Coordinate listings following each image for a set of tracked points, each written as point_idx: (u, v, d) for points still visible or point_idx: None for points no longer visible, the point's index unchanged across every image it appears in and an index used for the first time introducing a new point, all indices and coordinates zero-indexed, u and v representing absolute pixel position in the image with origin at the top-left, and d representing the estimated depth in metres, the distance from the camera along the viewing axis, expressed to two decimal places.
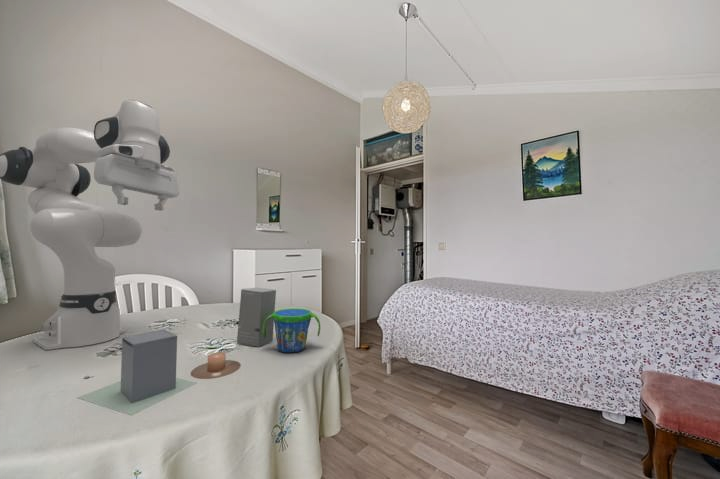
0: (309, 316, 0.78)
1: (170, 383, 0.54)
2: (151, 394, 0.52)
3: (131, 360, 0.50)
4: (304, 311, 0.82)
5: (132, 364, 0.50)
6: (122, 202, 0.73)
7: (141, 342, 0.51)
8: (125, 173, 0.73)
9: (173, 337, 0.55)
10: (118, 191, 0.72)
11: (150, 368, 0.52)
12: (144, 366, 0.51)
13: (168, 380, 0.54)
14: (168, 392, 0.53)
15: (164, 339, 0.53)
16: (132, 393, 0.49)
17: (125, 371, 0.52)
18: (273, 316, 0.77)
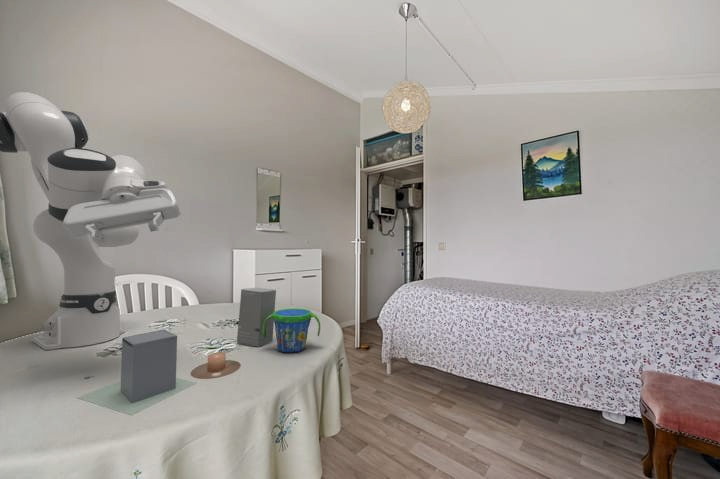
0: (309, 316, 0.78)
1: (170, 383, 0.54)
2: (151, 394, 0.52)
3: (131, 360, 0.50)
4: (304, 311, 0.82)
5: (132, 364, 0.50)
6: (157, 229, 0.62)
7: (141, 342, 0.51)
8: None
9: (173, 337, 0.55)
10: (162, 222, 0.64)
11: (150, 368, 0.52)
12: (144, 366, 0.51)
13: (168, 380, 0.54)
14: (168, 392, 0.53)
15: (164, 339, 0.53)
16: (132, 393, 0.49)
17: (125, 371, 0.52)
18: (273, 316, 0.77)
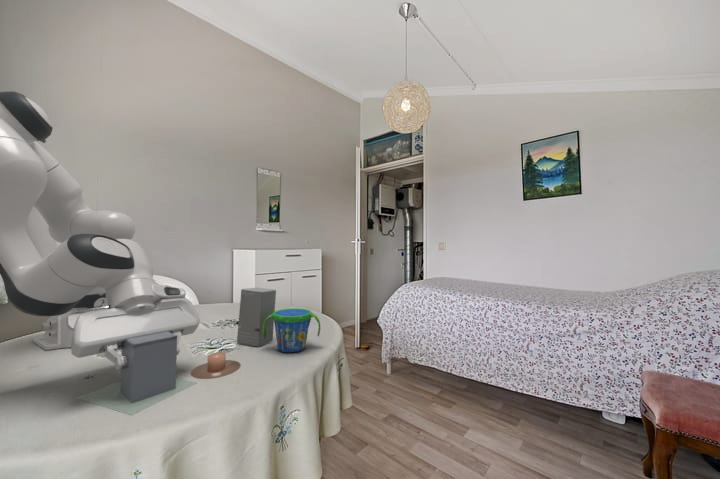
0: (309, 316, 0.78)
1: (170, 383, 0.54)
2: (151, 394, 0.52)
3: (131, 360, 0.50)
4: (304, 311, 0.82)
5: (132, 364, 0.50)
6: None
7: (141, 342, 0.51)
8: None
9: (173, 337, 0.55)
10: None
11: (150, 368, 0.52)
12: (144, 366, 0.51)
13: (168, 380, 0.54)
14: (168, 392, 0.53)
15: (164, 339, 0.53)
16: (132, 393, 0.49)
17: (125, 371, 0.52)
18: (273, 316, 0.77)
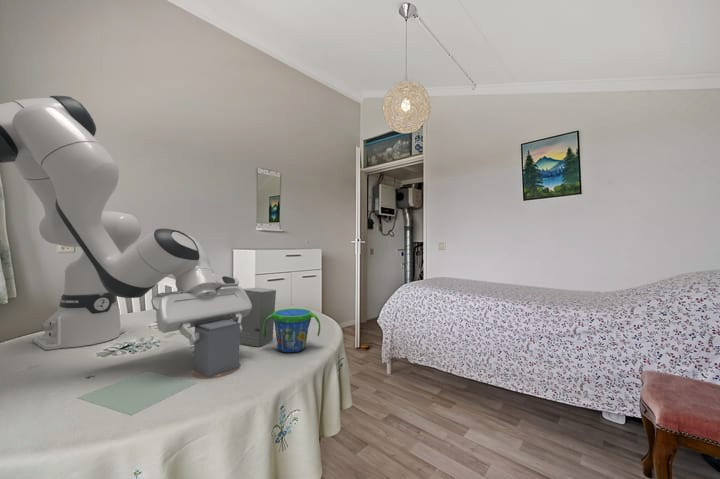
0: (309, 316, 0.78)
1: (235, 363, 0.64)
2: (221, 371, 0.61)
3: (206, 342, 0.60)
4: (304, 311, 0.82)
5: (208, 345, 0.60)
6: None
7: (214, 327, 0.61)
8: None
9: (237, 324, 0.64)
10: None
11: (221, 349, 0.61)
12: (217, 348, 0.61)
13: (233, 360, 0.64)
14: (168, 392, 0.53)
15: (230, 325, 0.63)
16: (208, 369, 0.59)
17: (199, 352, 0.62)
18: (273, 316, 0.77)
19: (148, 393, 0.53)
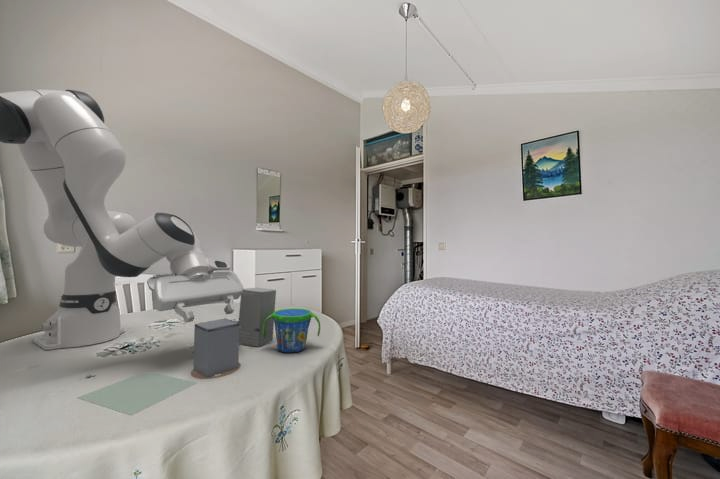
0: (309, 316, 0.78)
1: (234, 363, 0.64)
2: (220, 371, 0.61)
3: (205, 342, 0.60)
4: (304, 311, 0.82)
5: (207, 345, 0.60)
6: None
7: (213, 327, 0.61)
8: None
9: (236, 324, 0.64)
10: None
11: (220, 349, 0.61)
12: (215, 348, 0.61)
13: (233, 360, 0.63)
14: (168, 392, 0.53)
15: (230, 325, 0.63)
16: (207, 369, 0.59)
17: (199, 352, 0.62)
18: (273, 316, 0.77)
19: (148, 393, 0.53)
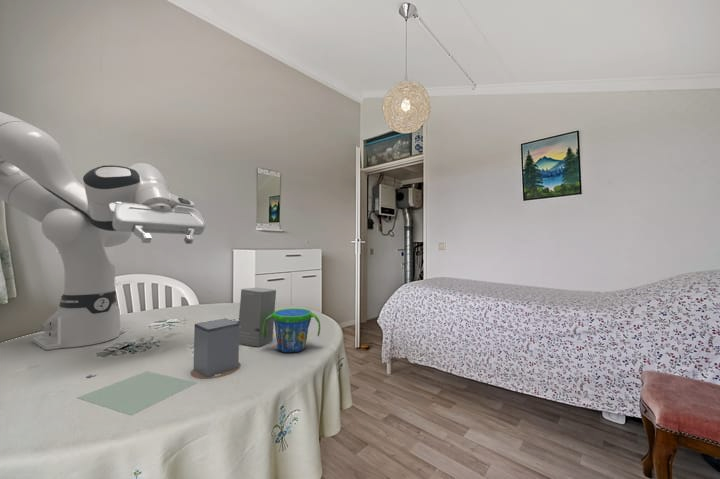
0: (309, 316, 0.78)
1: (234, 363, 0.64)
2: (220, 371, 0.61)
3: (205, 342, 0.60)
4: (304, 311, 0.82)
5: (207, 345, 0.60)
6: None
7: (213, 327, 0.61)
8: None
9: (236, 324, 0.64)
10: None
11: (220, 349, 0.61)
12: (215, 348, 0.61)
13: (233, 360, 0.63)
14: (168, 392, 0.53)
15: (230, 325, 0.63)
16: (207, 369, 0.59)
17: (199, 352, 0.62)
18: (273, 316, 0.77)
19: (148, 393, 0.53)
